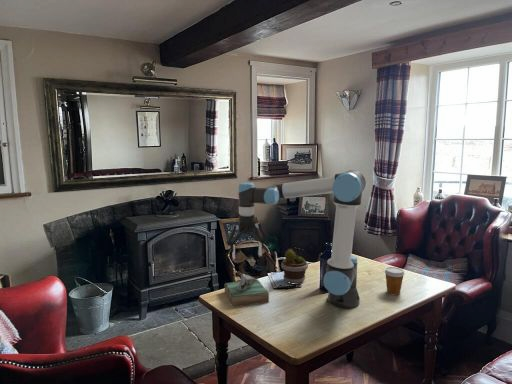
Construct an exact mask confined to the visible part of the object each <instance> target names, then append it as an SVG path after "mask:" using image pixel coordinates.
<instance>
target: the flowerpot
mask: <svg viewBox="0 0 512 384" xmlns="http://www.w3.org/2000/svg"><path fill="white" fill-rule="evenodd" d="M284 256H285V258H284V259H283V260H282V262H280V263H281V264H280V266H281V269H282V270H283V279H284V281H285V282H286V281H287V282H290V283H298V284H297V285H300V284H303V283H304V282H305V279H306V272H307V271H306V270H308V268H309V263H308V262H307V261H306V259H305V258H304V257H302V256H299V255H298V254H297V253H296V252H295V251H294V250H293V249H292V248H290V249H287V250H286V251H285V254H284ZM287 282H286V283H287Z"/></svg>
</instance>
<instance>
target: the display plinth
mask: <svg viewBox="0 0 512 384" xmlns="http://www.w3.org/2000/svg"><path fill="white" fill-rule="evenodd" d="M239 282H241V280H240V281H233V282H225V283H224V293H225V295H226V297H227V300H228V301H229V303H230V305H231V307H232V308H236V307H242V306H250V305H257V304H259V305H260V304H265V303H269V301H270V293H269V292H268V290H267V289H266V288H265V286H264V285H263V284H262V283H261V282H260V280H259V279H258V280H257V281H256V282H255V283H254V284H253V285H252V286H249V288H247V289H246V290H243V291H240V290H236V287H237V286H239Z"/></svg>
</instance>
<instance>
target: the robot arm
mask: <svg viewBox="0 0 512 384" xmlns="http://www.w3.org/2000/svg"><path fill="white" fill-rule="evenodd" d="M366 184H367V183H366V178H365V176H364V175H363V173H361V172H360V171H358V170H353V169H352V170H347V171H345V172H340V173H335V174H333V176H329V177H328V176H327V177H320V178H314V179H313V178H311V179H305V180H299V181H292V182H286V183H275V184H272V185H269V186H266V187H256V186H255V184H254V182H241V183H239V184H238V214H239V215H238V224H232V229H231V231H230V234H229V236H228V238H227V240H226V244H227V245H229V248H230V253H231V254H232V255H231V256H232V259H233V260H235V259H236V245H235V244H236V243H237V241H238V240H239V238H241V236H242V235H243V234H245V235H246V234H251V233H252V234H253V235H254V236H255V238H257V239H258V255H259V257H263V250H264V246H265V245H264V244H265V242H267V241H268V238H267V237H266V235H265V232H264V231H263V229H262V224H261V223H259V222H257V223H255V204H263V205H276V204H278V201H279V200H283V199H291V198H292V199H293V198H300V197H308V196H317V195H325V194H333V198H332V199H333V204H334V205H335V216H334V225H333V226H334V227H333V234H332V235H333V236H332V237H333V238H332V245H331V255H330V256H331V257H330V258H328V259H327V261H326V271H325V274H324V276H323V280H322V281H323V283H322V284H323V286H324V288H325V289H326V291H327V292H328V295H327V302H328V303H329V305H332V306H334V307H336V308H343V309H352V308H357V307H358V306H360V304H361V303H360V302H361V300H360V299H361V298H360V295H359V292H358V291H359V290H358V287H357V281H358V278H357V277H358V265H359V264H358V258H357V257H356V256H353V255H352V252H353V245H354V244H353V243H354V236H355V235H354V234H355V225H356V216H357V208H359V207H360V206H361V205H362V198H363V197H362V195H363V191H364V190H365V188H366ZM255 228H256V229H257V230H258V231H259V233H260V235H259V234H258V233H257V232H256V231H255V230H254V229H255ZM238 229H239V230H238ZM237 230H238V232H237V233H236V231H237ZM234 235H235V236H234Z"/></svg>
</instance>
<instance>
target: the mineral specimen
mask: <svg viewBox="0 0 512 384" xmlns="http://www.w3.org/2000/svg"><path fill="white" fill-rule="evenodd" d="M257 280H259V279H257V278H255V277H254V276H251V275H248V274H245V273H242V274H240V281H241V282H239V281H238V282H239V286H237V287H236V290H240V291H243V290H246V289H247V288H249V286H252V285H253V284H254V283H255V282H256V281H257Z"/></svg>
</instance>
